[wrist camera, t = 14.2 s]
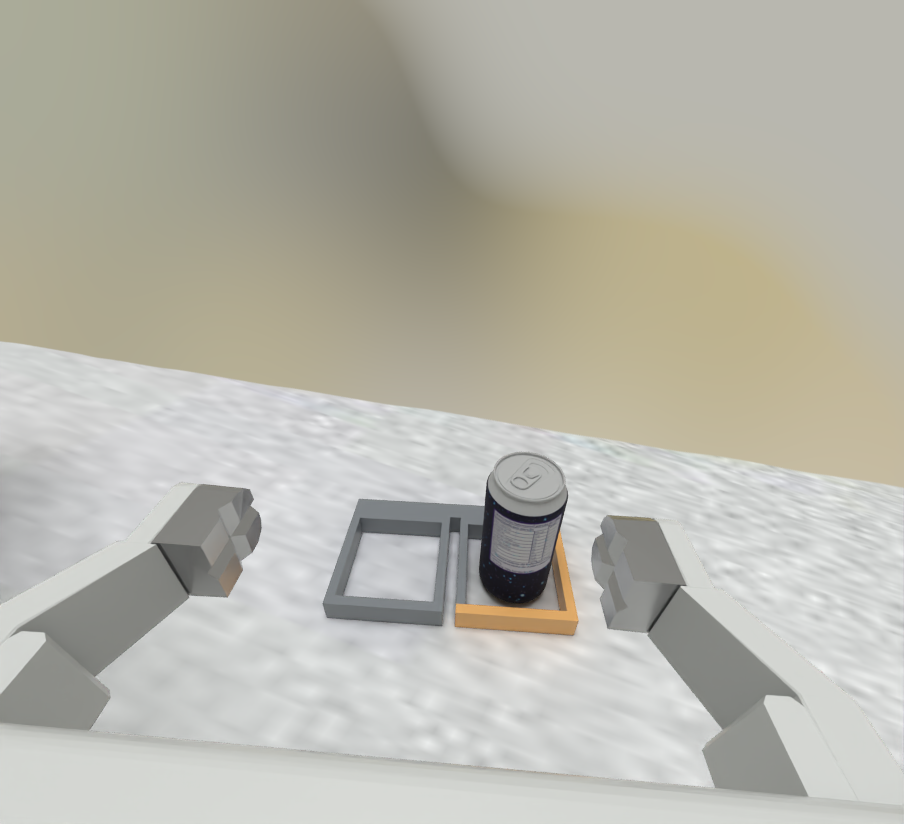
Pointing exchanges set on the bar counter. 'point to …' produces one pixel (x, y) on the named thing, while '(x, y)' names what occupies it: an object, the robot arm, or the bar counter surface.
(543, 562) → the beverage can
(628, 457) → the bar counter surface
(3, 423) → the bar counter surface
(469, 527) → the divided rectangular frame
